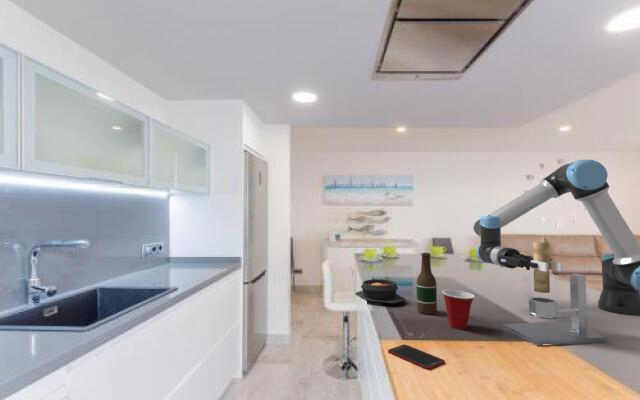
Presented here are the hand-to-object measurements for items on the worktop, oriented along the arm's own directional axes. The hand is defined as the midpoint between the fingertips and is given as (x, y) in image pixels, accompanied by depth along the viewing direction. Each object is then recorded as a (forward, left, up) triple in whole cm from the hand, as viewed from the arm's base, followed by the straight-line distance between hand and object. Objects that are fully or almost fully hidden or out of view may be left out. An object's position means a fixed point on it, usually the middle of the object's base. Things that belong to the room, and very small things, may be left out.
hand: (553, 267), depth 110 cm
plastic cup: (+23, -17, -23) cm, 37 cm away
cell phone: (+48, +5, -24) cm, 54 cm away
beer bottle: (+27, -35, -23) cm, 50 cm away
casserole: (+40, -56, -23) cm, 73 cm away
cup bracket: (-3, -5, -23) cm, 24 cm away
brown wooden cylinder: (0, -5, -9) cm, 10 cm away
